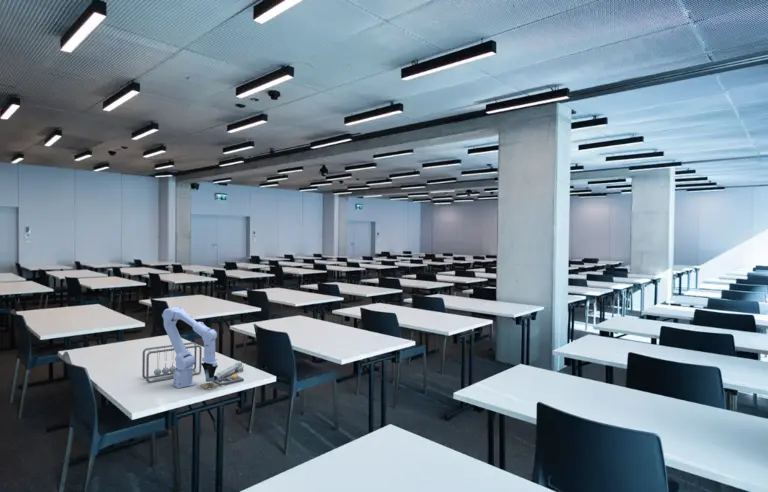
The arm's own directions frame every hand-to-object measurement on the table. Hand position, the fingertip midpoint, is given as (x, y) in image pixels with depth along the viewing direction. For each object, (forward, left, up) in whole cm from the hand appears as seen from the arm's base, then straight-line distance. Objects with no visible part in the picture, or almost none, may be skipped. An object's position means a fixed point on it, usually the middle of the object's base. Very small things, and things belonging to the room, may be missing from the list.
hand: (209, 376), depth 246 cm
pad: (0, 0, -6) cm, 6 cm away
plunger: (+15, 0, -5) cm, 16 cm away
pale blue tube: (+17, +12, -6) cm, 21 cm away
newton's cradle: (-9, +32, -6) cm, 33 cm away
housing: (+11, 0, -6) cm, 13 cm away
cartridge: (0, 0, -2) cm, 2 cm away
